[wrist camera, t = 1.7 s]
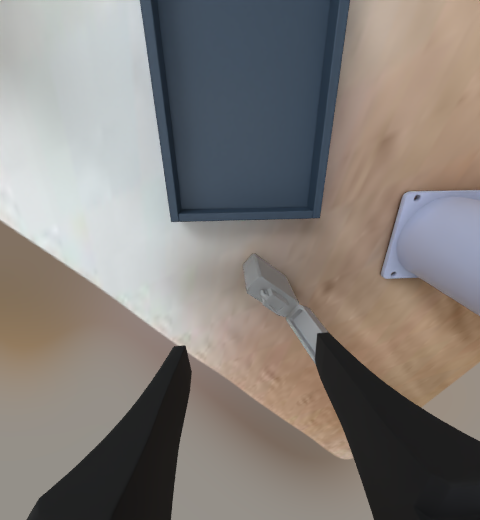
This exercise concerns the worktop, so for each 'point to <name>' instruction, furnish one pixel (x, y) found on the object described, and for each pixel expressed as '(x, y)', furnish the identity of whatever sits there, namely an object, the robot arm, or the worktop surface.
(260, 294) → the lighter
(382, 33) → the worktop surface
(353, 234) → the worktop surface
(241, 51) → the tray
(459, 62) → the worktop surface
